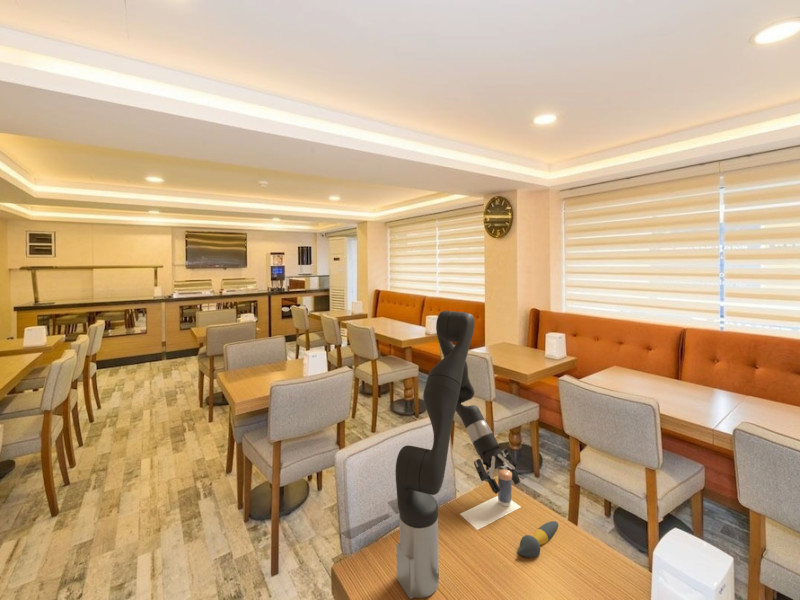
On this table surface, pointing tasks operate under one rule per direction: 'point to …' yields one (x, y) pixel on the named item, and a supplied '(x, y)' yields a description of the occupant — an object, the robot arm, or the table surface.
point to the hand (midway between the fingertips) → (508, 488)
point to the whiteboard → (487, 512)
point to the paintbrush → (537, 540)
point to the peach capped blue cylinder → (504, 487)
